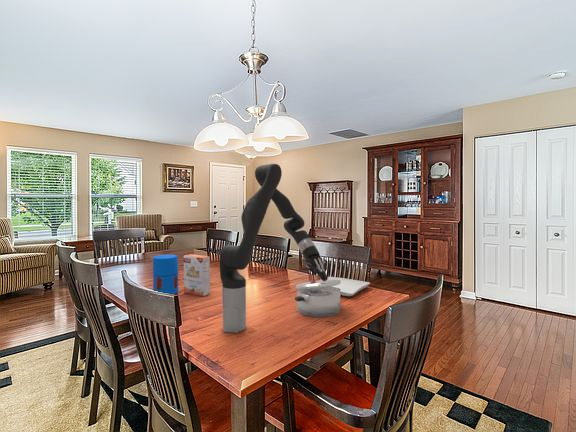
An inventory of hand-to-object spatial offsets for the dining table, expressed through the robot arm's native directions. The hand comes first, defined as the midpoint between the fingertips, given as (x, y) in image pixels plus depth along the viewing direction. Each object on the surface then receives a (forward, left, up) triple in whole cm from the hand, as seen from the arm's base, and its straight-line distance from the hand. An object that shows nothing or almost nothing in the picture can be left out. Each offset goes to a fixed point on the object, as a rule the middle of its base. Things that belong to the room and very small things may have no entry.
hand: (325, 280), depth 144 cm
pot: (+3, +3, -15) cm, 16 cm away
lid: (+4, +4, -4) cm, 6 cm away
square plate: (+38, -7, -15) cm, 42 cm away
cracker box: (+17, +70, -15) cm, 74 cm away
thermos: (-9, +73, -15) cm, 75 cm away
